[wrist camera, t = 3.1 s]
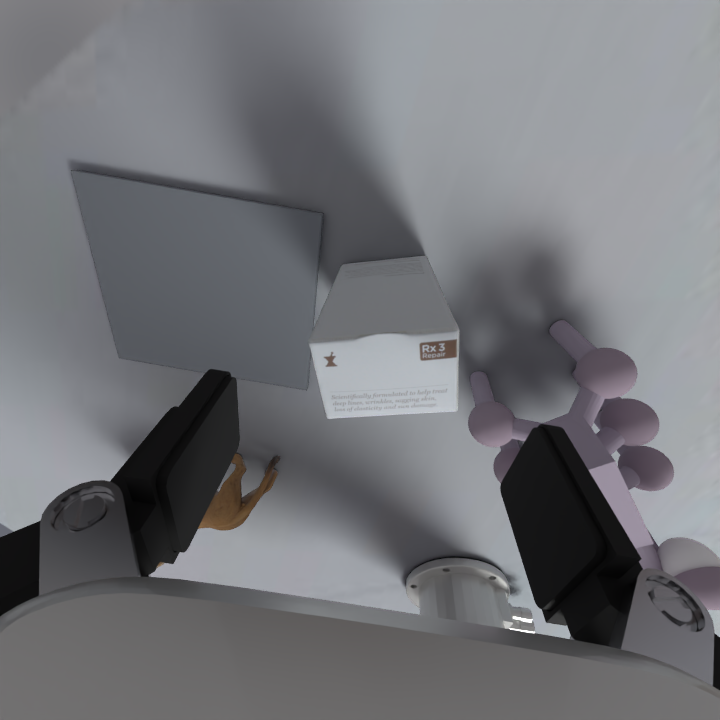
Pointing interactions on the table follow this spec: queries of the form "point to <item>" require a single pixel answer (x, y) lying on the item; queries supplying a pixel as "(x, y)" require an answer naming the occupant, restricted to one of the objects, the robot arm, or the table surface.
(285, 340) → the mat
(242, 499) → the lion figurine
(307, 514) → the table surface
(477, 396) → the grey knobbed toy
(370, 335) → the skincare box
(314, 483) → the table surface
